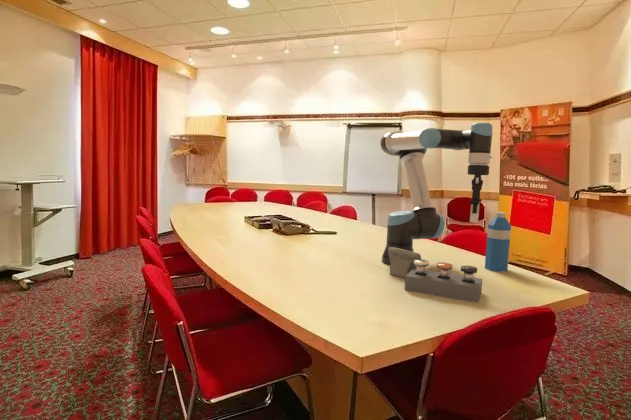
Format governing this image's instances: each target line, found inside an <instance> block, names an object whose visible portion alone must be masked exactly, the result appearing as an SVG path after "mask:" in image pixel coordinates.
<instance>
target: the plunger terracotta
mask: <svg viewBox="0 0 631 420" xmlns="http://www.w3.org/2000/svg"><path fill="white" fill-rule="evenodd" d="M453 266H454V265H453V264H452V263H449V262H444V261H443V262H442V261H441V262H437V263H436V268H438V269H439V271H438V272H439V278H441V279H449V274H450V270H452V269H453Z"/></svg>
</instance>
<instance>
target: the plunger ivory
mask: <svg viewBox="0 0 631 420" xmlns="http://www.w3.org/2000/svg"><path fill="white" fill-rule="evenodd" d="M414 264H415V265H417V268H416V275H422V276H425V272H426V271H427V267H428V266H430V261H429V260H427V259H422V258H421V259H416V260H414Z"/></svg>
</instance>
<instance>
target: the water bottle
mask: <svg viewBox="0 0 631 420" xmlns="http://www.w3.org/2000/svg"><path fill="white" fill-rule="evenodd" d="M506 214H507V213H506V212H501V211H496V212H495V214H494V215H495V217H494V218H492V220H491V221H489V223H488V225H487V235H486V245H485V246H486V247H485V248H486V249H485V258H484V259H485V260H484V261H485V262H484V269H485V268H486V270H487V271H491V272H492V271H493V272H497V271H498V273H502V271H506V272H507V271H508V270H509V269H508V268H509V257H510V256H509V255H510V246H511V245H510V244H511V243H510V242H511V233H512V225H511V224H510V222H509V220H508V219H507V217H506V216H507V215H506Z"/></svg>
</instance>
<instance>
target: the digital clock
mask: <svg viewBox="0 0 631 420" xmlns="http://www.w3.org/2000/svg"><path fill="white" fill-rule="evenodd" d="M388 253H389V258H390V263H391V264H390V265H389V275H392V276H394V277H398V278H401V279H404V280H405V276H406V275H407V274H408V273H409V272H410V271H412V270H413V269H416V268H417V265H415V264H414V260H416V259H421V260H422V256H421V253H419V252H415V251H414V252H411V251H407V250H403V249H399V248H394V247H389V248H388Z"/></svg>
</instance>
